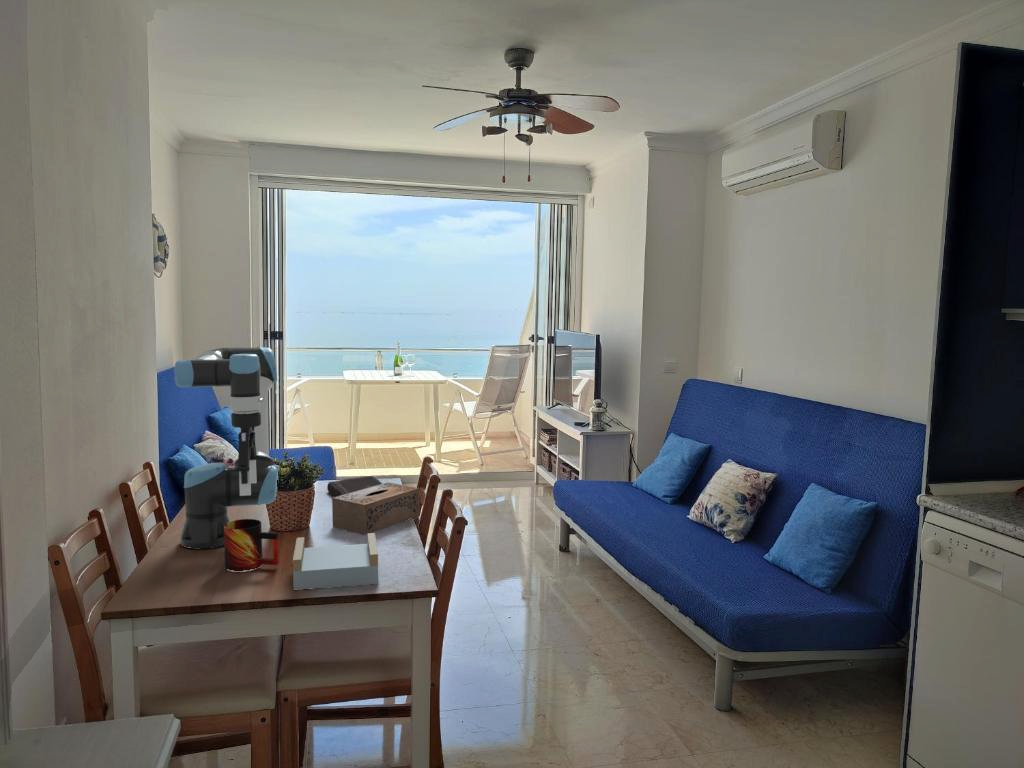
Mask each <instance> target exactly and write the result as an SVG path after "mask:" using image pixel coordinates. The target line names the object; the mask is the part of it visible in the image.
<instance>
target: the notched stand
mask: <svg viewBox="0 0 1024 768" xmlns="http://www.w3.org/2000/svg"><path fill="white" fill-rule="evenodd" d="M305 540H306V539H305V537H296V541H295V546H294V551H293V557H292V574H293V575H292V578H293V579H292V581H293V582H292V583H293V585H292V586H293V590H294V589H309V588H324V589H328V588H327V587H337V588H343V587H342V586H349V587H358V586H357V585H362V586H371V585H370V584H375V585H379V553H378V545H377V540H376V533H375V532H373V533H368V535H367V543H360V544H346V545H344V544H343V545H329V546H316V547H315V546H313V547H311V546H310V547H305V545H306V544H305Z"/></svg>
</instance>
